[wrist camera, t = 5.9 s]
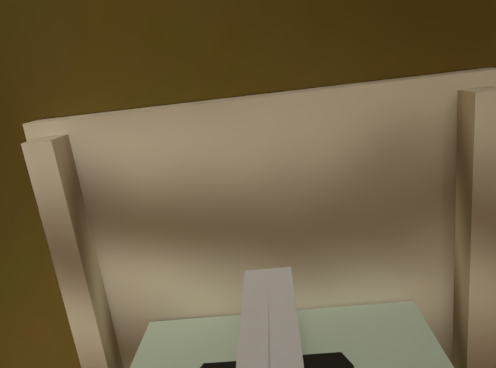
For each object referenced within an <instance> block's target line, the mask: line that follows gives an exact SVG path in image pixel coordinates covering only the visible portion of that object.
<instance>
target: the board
mask: <svg viewBox="0 0 496 368" xmlns="http://www.w3.org/2000/svg"><path fill="white" fill-rule="evenodd" d="M22 125H23V129H24V132H25V136H26V140H27V142H25V143H22V144H21V146H22V150H23V154H24V157H25V161H26V165H27V168H28V172H29V176H30V179H31V183H32V187H33V191H34V194H35V198H36V202H37V205H38V209H39V213H40V216H41V220H42V224H43V228H44V231H45V235H46V239H47V242H48V246H49V250H50V254H51V257H52V261H53V265H54V268H55V272H56V276H57V279H58V283H59V287H60V291H61V294H62V298H63V302H64V305H65V309H66V313H67V316H68V320H69V324H70V328H71V331H72V335H73V339H74V342H75V346H76V350H77V353H78V357H79V361H80V365H81V368H130V366H131V364H132V361H133V359H134V357H135V354H136V352H137V350H138V348H139V345H140V343H141V341H142V338H143V336H144V334H145V332H146V329H147V327H148V325H149V322H155V321H168V320H180V319H192V318H205V317H217V316H230V315H241V306H242V295H243V284H244V273H245V271H247V270H259V269H271V268H282V267H291V271H292V278H293V286H294V294H295V301H296V309H297V310H305V309H317V308H330V307H342V306H355V305H367V304H379V303H392V302H404V301H414V303H415V304H416V306H417V308H418V309H419V311H420V313H421V314H422V316H423V318H424V319H425V321H426V322H427V324H428V326H429V327H430V329H431V331H432V332H433V334H434V336H435V337H436V339H437V340H438V342H439V344H440V345H441V347H442V349H443V350H444V352H445V354H446V355H447V357H448V359H449V360H450V362H451V363H452V365H453V367H454V368H496V68H493V67H490V68H481V69H473V70H464V71H456V72H447V73H438V74H430V75H421V76H413V77H404V78H395V79H387V80H378V81H370V82H361V83H352V84H344V85H335V86H327V87H318V88H309V89H301V90H292V91H284V92H275V93H266V94H258V95H249V96H241V97H232V98H224V99H215V100H206V101H198V102H189V103H181V104H172V105H163V106H155V107H146V108H138V109H129V110H120V111H112V112H103V113H95V114H86V115H77V116H69V117H60V118H52V119H43V120H36V121H32V122H29V123H25V124H22Z"/></svg>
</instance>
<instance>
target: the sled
mask: <svg viewBox="0 0 496 368" xmlns="http://www.w3.org/2000/svg"><path fill="white" fill-rule="evenodd" d="M240 316H241V315H230V316H217V317H205V318H192V319H180V320H168V321H155V322H149V325H148V327H147V329H146V332H145V334H144V336H143V338H142V341H141V343H140V345H139V348H138V350H137V352H136V354H135V357H134V359H133V361H132V364H131V366H130V368H200V367H201V366H202V365H203V363H214V362H228V361H236V360H237V349H238V338H239V327H240ZM297 317H298V324H299V332H300V340H301V348H302V355H306V354H320V353H334V352H342V353H343V354H344V356H345V357H346V358H347V359H348V360H349V361H350V362H351V363H352V364H353V365H354V368H454V367H453V365H452V363H451V362H450V360H449V359H448V357H447V355H446V354H445V352H444V350H443V349H442V347H441V345H440V344H439V342H438V340H437V339H436V337H435V336H434V334H433V332H432V331H431V329H430V327H429V326H428V324H427V322H426V321H425V319H424V318H423V316H422V314H421V313H420V311H419V309H418V308H417V306H416V304H415V303H414V301H404V302H392V303H379V304H367V305H355V306H342V307H330V308H317V309H305V310H297Z"/></svg>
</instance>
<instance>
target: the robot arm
mask: <svg viewBox="0 0 496 368" xmlns="http://www.w3.org/2000/svg"><path fill="white" fill-rule="evenodd" d="M200 368H354V365H353V364H352V363H351V362H350V361H349V360H348V359H347V358H346V357H345V356H344V354H343V353H342V352H334V353H320V354H306V355H302V348H301V340H300V332H299V324H298V317H297V309H296V301H295V294H294V286H293V278H292V271H291V267H282V268H271V269H259V270H247V271H245V273H244V284H243V295H242V306H241V316H240V327H239V338H238V349H237V360H236V361H228V362H214V363H203V365H202V366H201V367H200Z"/></svg>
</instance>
